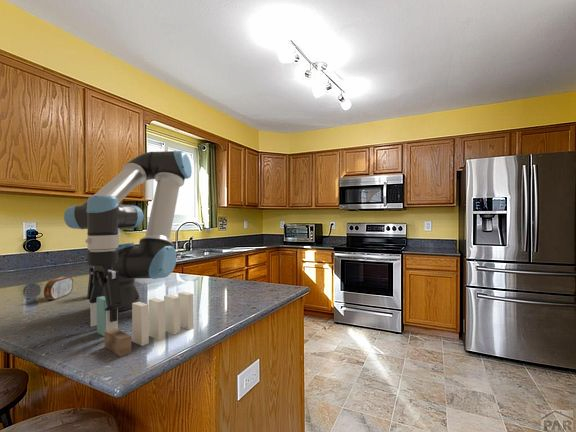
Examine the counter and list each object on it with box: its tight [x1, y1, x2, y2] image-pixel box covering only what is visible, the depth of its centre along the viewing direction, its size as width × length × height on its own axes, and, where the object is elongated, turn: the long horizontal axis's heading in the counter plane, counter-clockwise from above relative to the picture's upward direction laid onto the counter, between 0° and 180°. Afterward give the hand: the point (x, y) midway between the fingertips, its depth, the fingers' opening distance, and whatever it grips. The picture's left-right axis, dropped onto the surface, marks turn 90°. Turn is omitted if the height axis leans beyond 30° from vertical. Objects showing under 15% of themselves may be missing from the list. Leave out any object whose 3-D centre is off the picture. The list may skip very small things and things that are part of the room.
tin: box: [43, 275, 74, 301], centre depth 127 cm, size 15×3×8 cm, turn 5°
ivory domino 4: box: [177, 291, 195, 330], centre depth 89 cm, size 2×5×10 cm, turn 52°
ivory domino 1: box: [131, 301, 150, 347], centre depth 78 cm, size 2×5×10 cm, turn 52°
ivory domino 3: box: [163, 294, 181, 335], centre depth 85 cm, size 2×5×10 cm, turn 52°
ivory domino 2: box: [148, 297, 166, 341], centre depth 81 cm, size 2×5×10 cm, turn 52°
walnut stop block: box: [104, 328, 132, 358], centre depth 73 cm, size 9×2×4 cm, turn 52°
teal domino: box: [96, 296, 107, 337], centre depth 85 cm, size 2×5×10 cm, turn 52°
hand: (103, 328), depth 85 cm, fingers open, 10 cm apart
